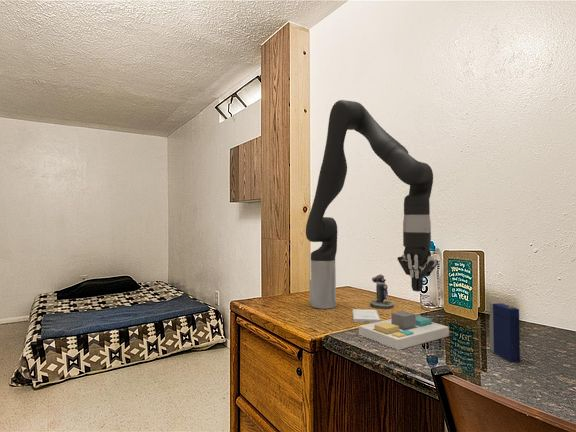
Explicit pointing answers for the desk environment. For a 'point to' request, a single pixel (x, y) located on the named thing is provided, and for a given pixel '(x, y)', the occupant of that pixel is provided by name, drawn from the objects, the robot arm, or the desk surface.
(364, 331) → the keypad frame
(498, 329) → the navy blue upright slab
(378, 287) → the figurine
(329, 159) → the robot arm
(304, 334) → the desk surface
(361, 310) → the external hard drive
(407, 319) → the key charcoal
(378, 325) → the key ochre
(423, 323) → the key teal
